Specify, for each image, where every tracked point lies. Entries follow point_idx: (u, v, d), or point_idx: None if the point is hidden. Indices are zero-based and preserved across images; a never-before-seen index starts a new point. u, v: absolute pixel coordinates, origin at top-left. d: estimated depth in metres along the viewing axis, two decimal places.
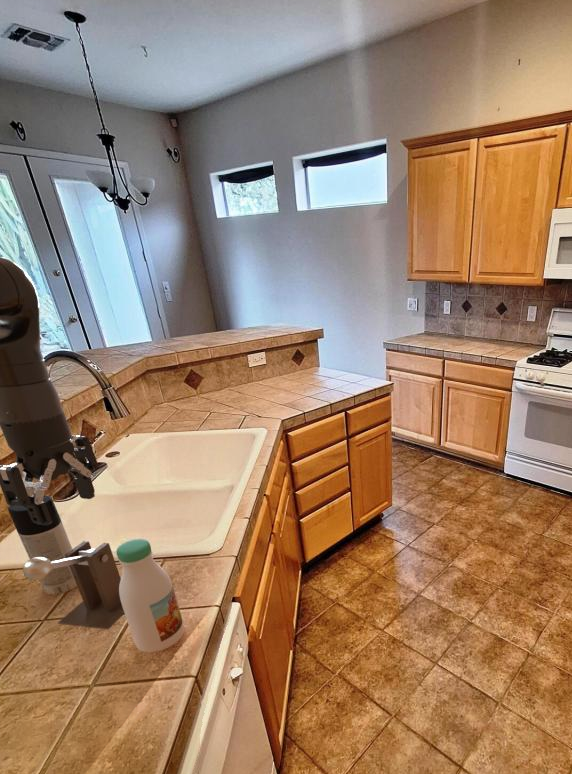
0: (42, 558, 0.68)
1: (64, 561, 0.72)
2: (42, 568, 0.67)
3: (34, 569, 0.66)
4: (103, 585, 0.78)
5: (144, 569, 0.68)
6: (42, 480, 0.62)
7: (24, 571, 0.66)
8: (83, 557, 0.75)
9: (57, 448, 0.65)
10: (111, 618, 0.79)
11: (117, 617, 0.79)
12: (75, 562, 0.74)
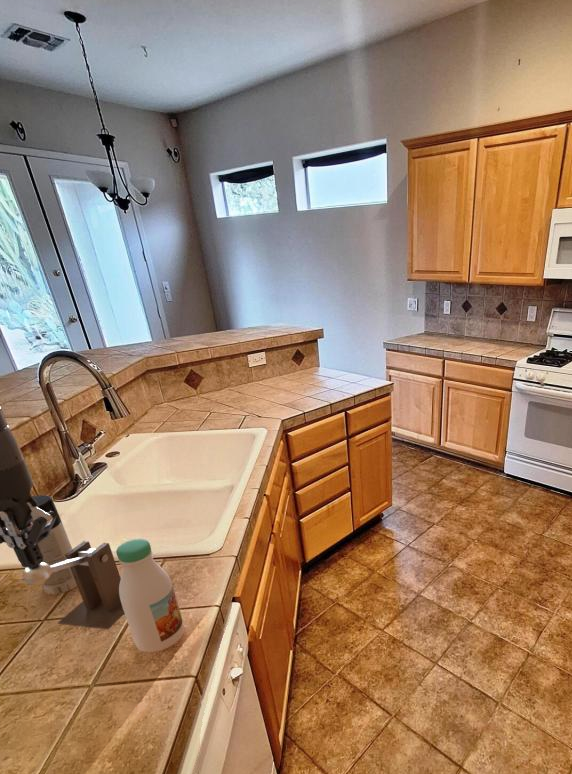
0: (41, 563, 0.67)
1: (64, 564, 0.72)
2: (42, 573, 0.67)
3: (34, 575, 0.66)
4: (103, 585, 0.78)
5: (144, 569, 0.68)
6: None
7: (24, 577, 0.66)
8: (83, 558, 0.75)
9: (4, 503, 0.61)
10: (111, 618, 0.79)
11: (117, 617, 0.79)
12: (75, 564, 0.74)
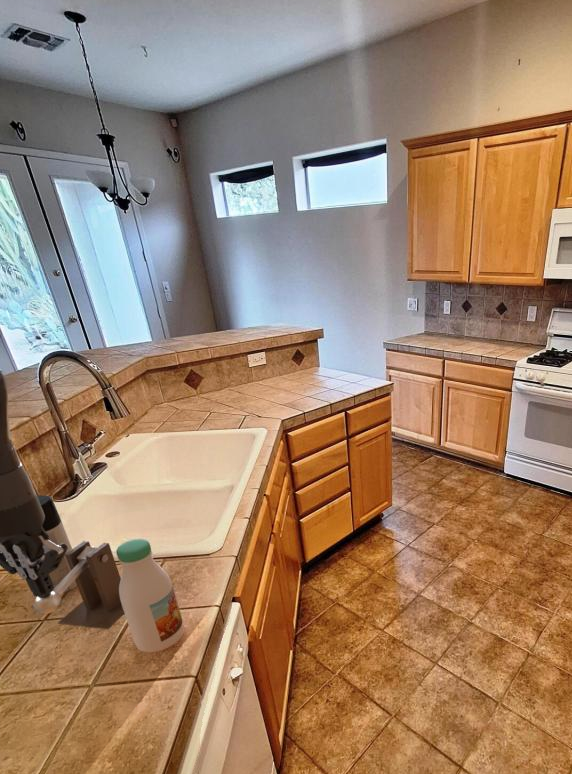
0: (46, 596, 0.69)
1: (68, 580, 0.73)
2: (52, 605, 0.69)
3: (45, 609, 0.68)
4: (103, 585, 0.78)
5: (144, 569, 0.68)
6: (8, 561, 0.65)
7: (37, 611, 0.69)
8: (84, 564, 0.76)
9: (17, 537, 0.63)
10: (111, 618, 0.79)
11: (117, 617, 0.79)
12: (79, 573, 0.75)
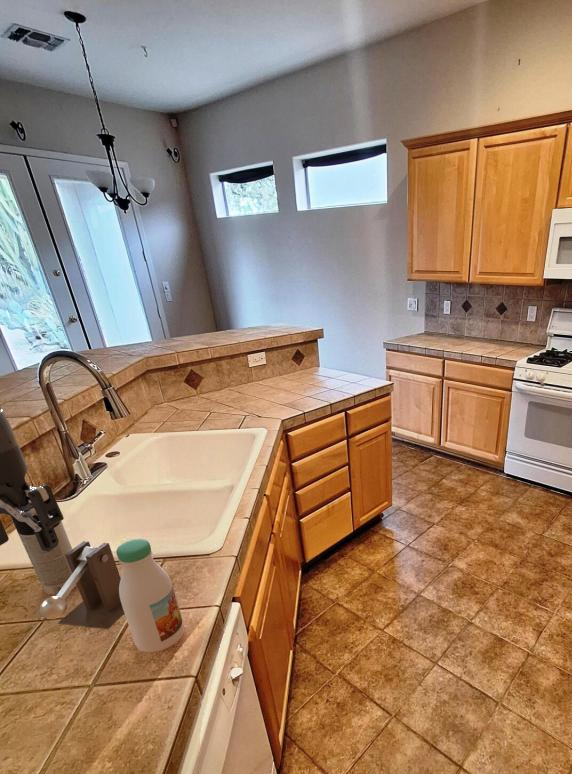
0: (50, 603, 0.70)
1: (71, 584, 0.73)
2: (57, 611, 0.70)
3: (51, 615, 0.70)
4: (103, 585, 0.78)
5: (144, 569, 0.68)
6: None
7: (44, 617, 0.70)
8: (85, 565, 0.76)
9: None
10: (111, 618, 0.79)
11: (117, 617, 0.79)
12: (81, 575, 0.75)
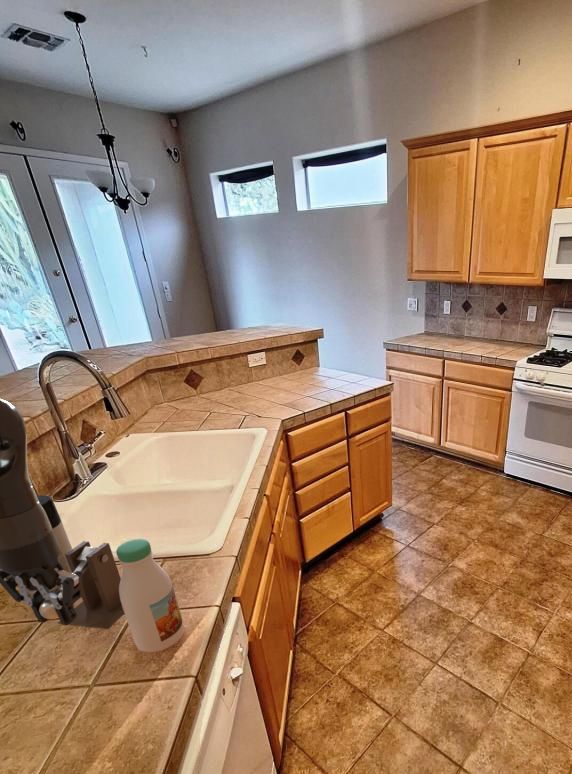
0: (50, 603, 0.70)
1: None
2: None
3: (51, 615, 0.70)
4: (103, 585, 0.78)
5: (144, 569, 0.68)
6: (20, 590, 0.68)
7: (44, 617, 0.70)
8: (85, 566, 0.76)
9: (33, 570, 0.66)
10: (111, 618, 0.79)
11: (117, 617, 0.79)
12: None
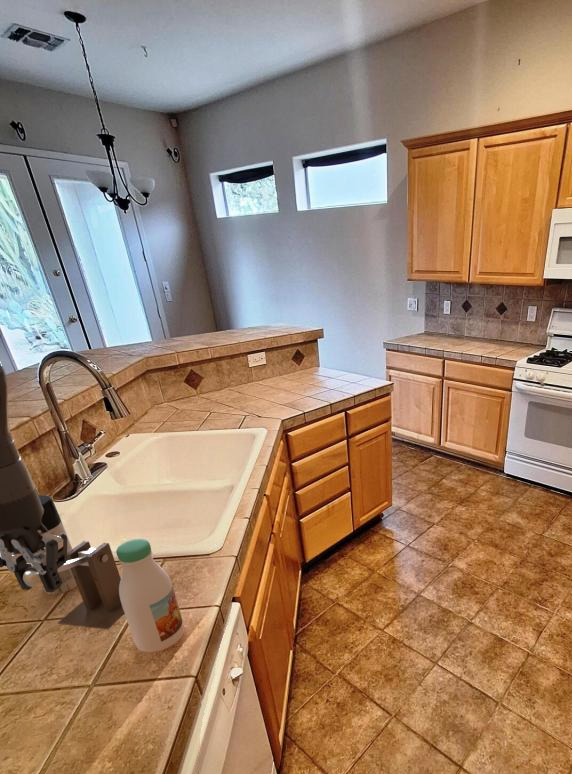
0: None
1: (64, 565, 0.72)
2: None
3: (34, 578, 0.66)
4: (103, 585, 0.78)
5: (144, 569, 0.68)
6: (1, 554, 0.64)
7: (24, 580, 0.66)
8: (83, 559, 0.75)
9: (15, 532, 0.63)
10: (111, 618, 0.79)
11: (117, 617, 0.79)
12: (75, 564, 0.74)
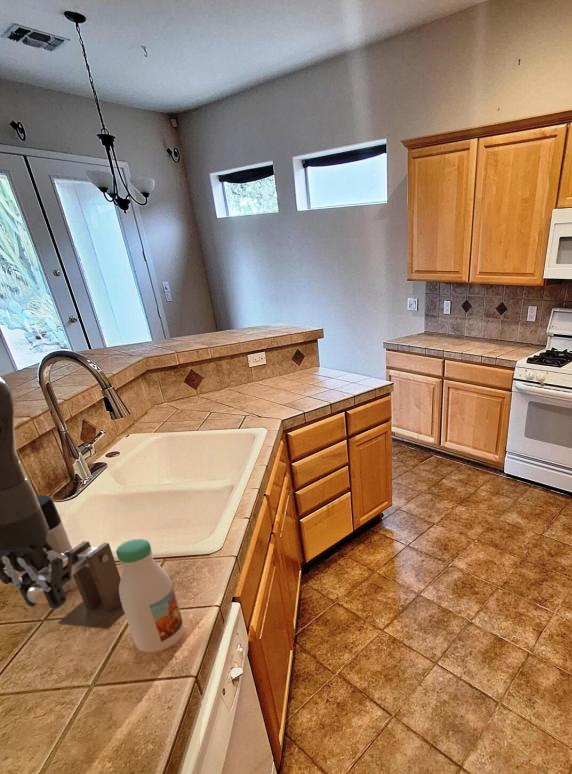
0: None
1: None
2: None
3: (38, 597, 0.67)
4: (103, 585, 0.78)
5: (144, 569, 0.68)
6: (7, 571, 0.65)
7: (29, 599, 0.67)
8: (83, 562, 0.76)
9: (21, 550, 0.64)
10: (111, 618, 0.79)
11: (117, 617, 0.79)
12: (77, 570, 0.74)
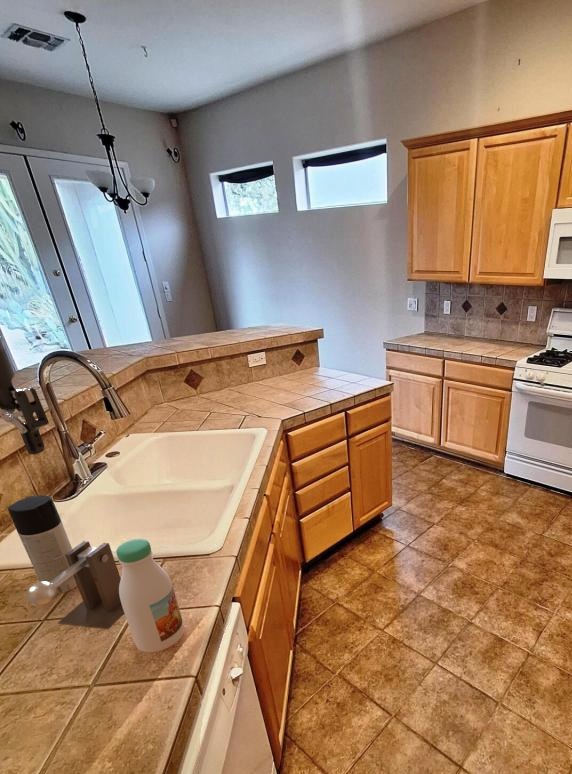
0: (42, 585, 0.68)
1: (66, 575, 0.72)
2: (46, 595, 0.68)
3: (38, 598, 0.67)
4: (103, 585, 0.78)
5: (144, 569, 0.68)
6: None
7: (30, 600, 0.67)
8: (83, 562, 0.76)
9: None
10: (111, 618, 0.79)
11: (117, 617, 0.79)
12: (77, 570, 0.74)
